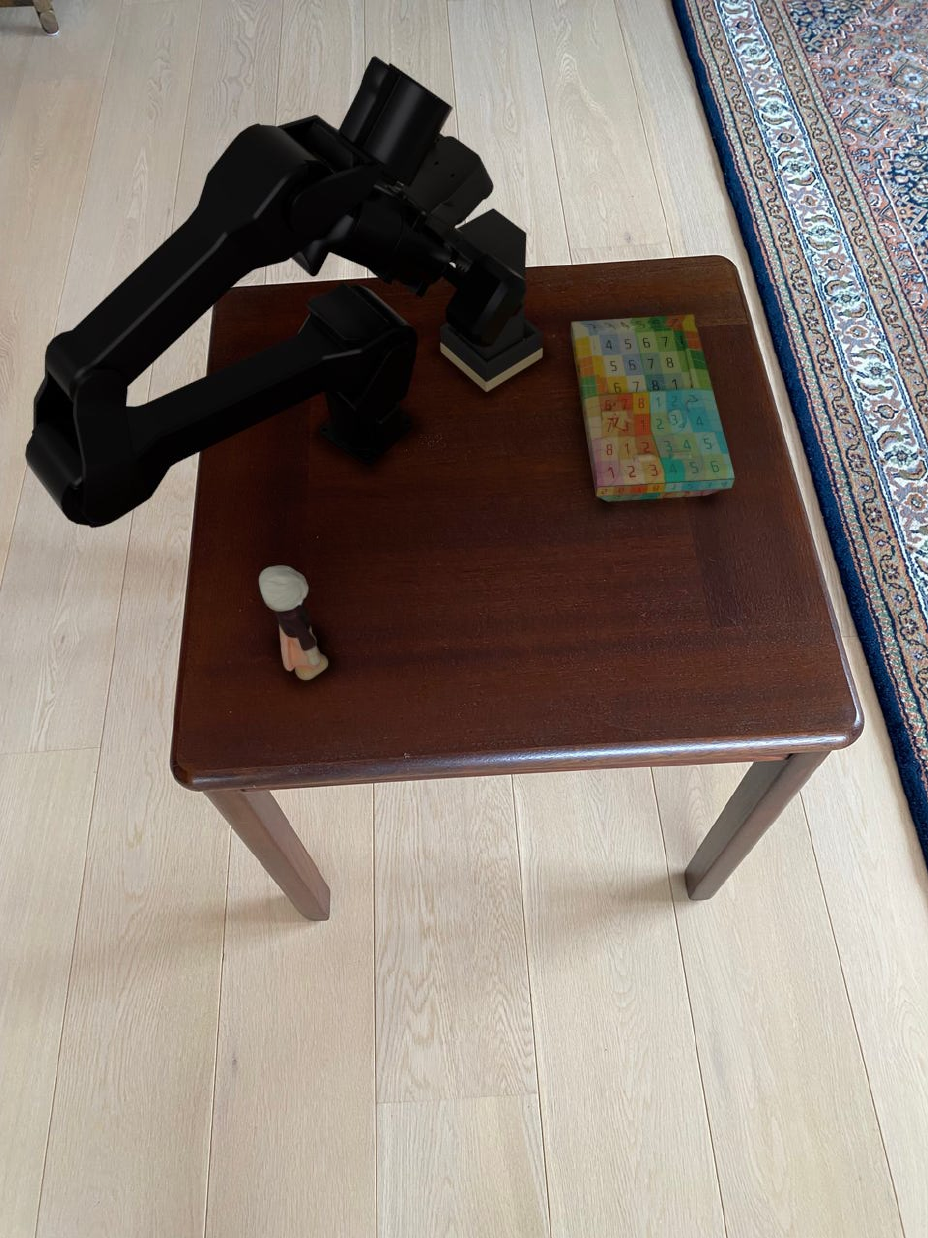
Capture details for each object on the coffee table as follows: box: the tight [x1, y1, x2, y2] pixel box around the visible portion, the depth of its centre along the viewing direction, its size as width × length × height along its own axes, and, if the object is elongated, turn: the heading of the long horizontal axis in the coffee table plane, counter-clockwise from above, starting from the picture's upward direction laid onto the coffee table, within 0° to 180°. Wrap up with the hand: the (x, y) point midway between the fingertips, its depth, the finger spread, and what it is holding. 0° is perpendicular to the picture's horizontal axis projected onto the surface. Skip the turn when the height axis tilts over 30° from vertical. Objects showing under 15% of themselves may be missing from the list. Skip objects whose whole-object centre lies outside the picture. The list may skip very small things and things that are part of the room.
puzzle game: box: [570, 314, 736, 502], centre depth 84 cm, size 12×5×20 cm
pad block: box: [454, 207, 528, 362], centre depth 85 cm, size 4×4×13 cm
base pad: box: [439, 317, 544, 393], centre depth 90 cm, size 7×7×3 cm
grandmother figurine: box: [258, 564, 329, 681], centre depth 70 cm, size 8×4×13 cm, turn 37°
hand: (485, 282), depth 84 cm, fingers open, 9 cm apart
